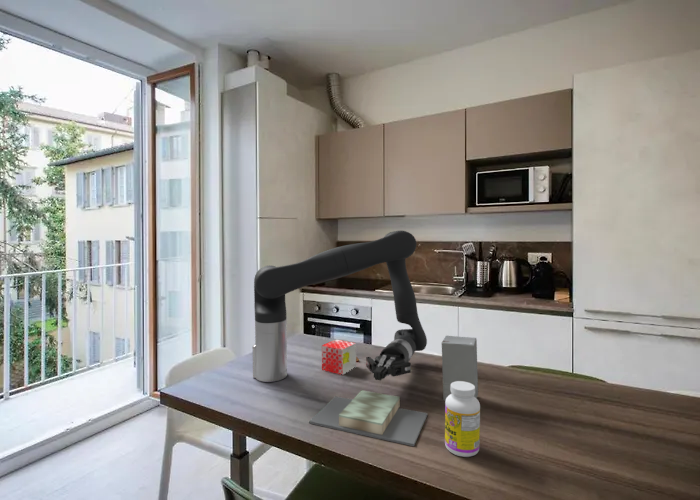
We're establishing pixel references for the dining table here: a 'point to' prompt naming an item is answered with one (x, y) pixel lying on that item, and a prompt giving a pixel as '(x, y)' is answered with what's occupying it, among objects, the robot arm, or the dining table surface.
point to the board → (370, 412)
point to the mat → (398, 430)
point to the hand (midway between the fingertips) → (377, 376)
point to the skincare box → (459, 362)
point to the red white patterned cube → (338, 356)
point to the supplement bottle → (462, 420)
